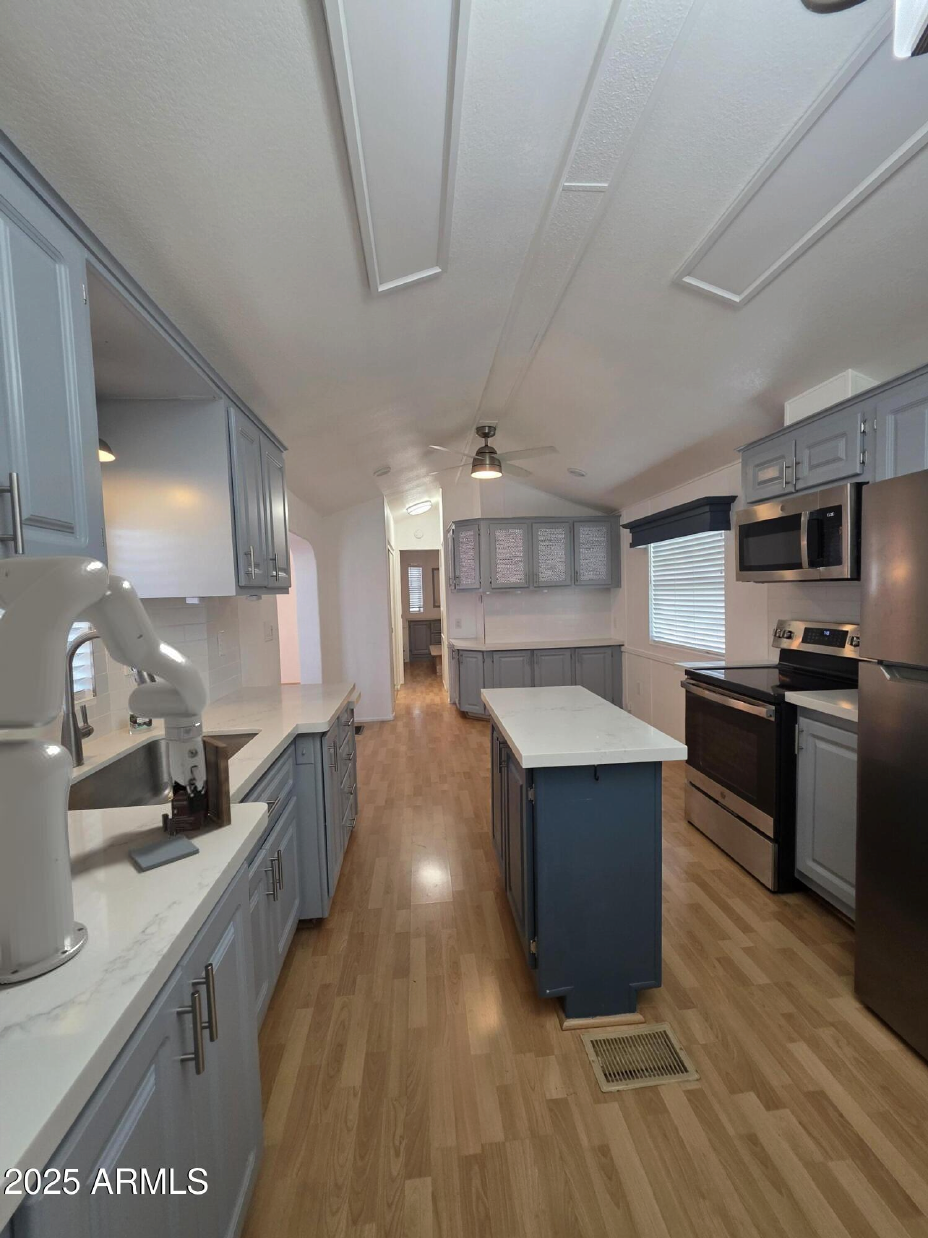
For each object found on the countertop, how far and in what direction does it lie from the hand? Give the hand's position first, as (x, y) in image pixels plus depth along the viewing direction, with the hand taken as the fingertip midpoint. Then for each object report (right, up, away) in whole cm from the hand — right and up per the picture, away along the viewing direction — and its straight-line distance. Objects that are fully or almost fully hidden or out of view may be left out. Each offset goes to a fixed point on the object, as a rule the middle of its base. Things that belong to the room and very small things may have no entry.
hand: (188, 806), depth 123 cm
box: (0, -5, 0) cm, 5 cm away
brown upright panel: (+1, -4, +1) cm, 5 cm away
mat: (+2, -5, -13) cm, 14 cm away
